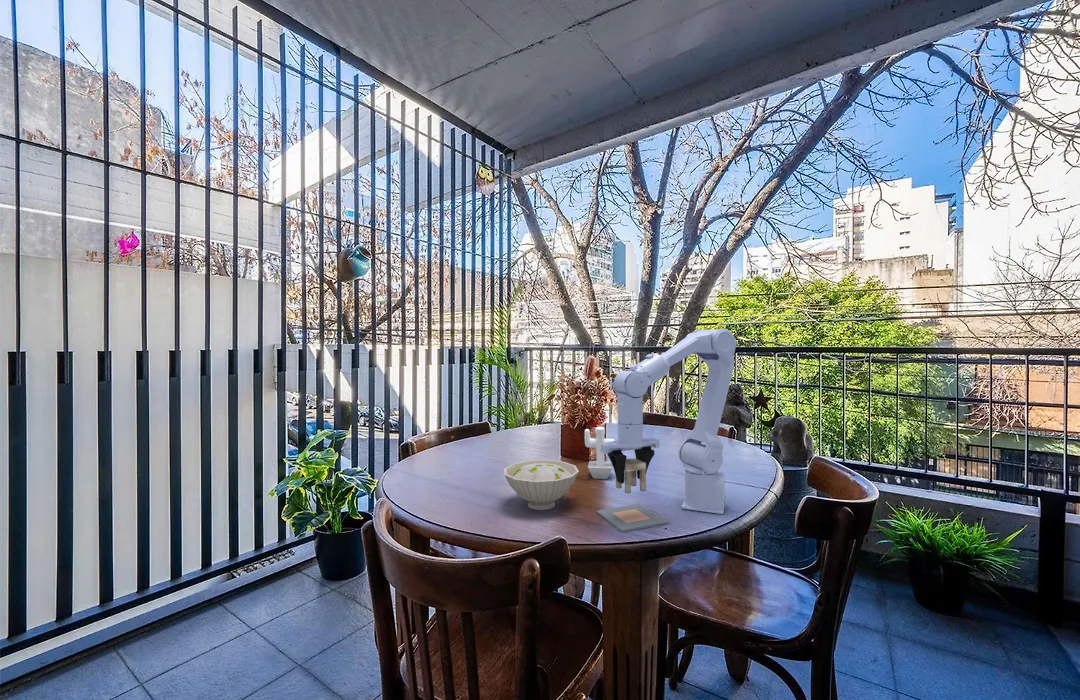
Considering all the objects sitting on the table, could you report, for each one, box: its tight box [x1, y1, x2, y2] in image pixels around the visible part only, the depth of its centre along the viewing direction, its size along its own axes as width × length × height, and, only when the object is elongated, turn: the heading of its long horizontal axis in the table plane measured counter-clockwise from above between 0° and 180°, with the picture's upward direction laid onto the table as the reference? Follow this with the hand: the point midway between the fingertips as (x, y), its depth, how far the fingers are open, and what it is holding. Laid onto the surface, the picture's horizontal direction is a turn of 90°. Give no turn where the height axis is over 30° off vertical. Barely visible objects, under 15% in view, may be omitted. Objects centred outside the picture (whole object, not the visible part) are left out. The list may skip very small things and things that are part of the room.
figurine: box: [584, 426, 616, 480], centre depth 139 cm, size 7×9×15 cm
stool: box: [615, 457, 647, 495], centre depth 107 cm, size 5×5×6 cm
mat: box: [596, 503, 669, 533], centre depth 107 cm, size 12×12×1 cm
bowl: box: [503, 459, 579, 511], centre depth 116 cm, size 19×19×10 cm
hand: (630, 480), depth 107 cm, fingers closed on stool, 5 cm apart
